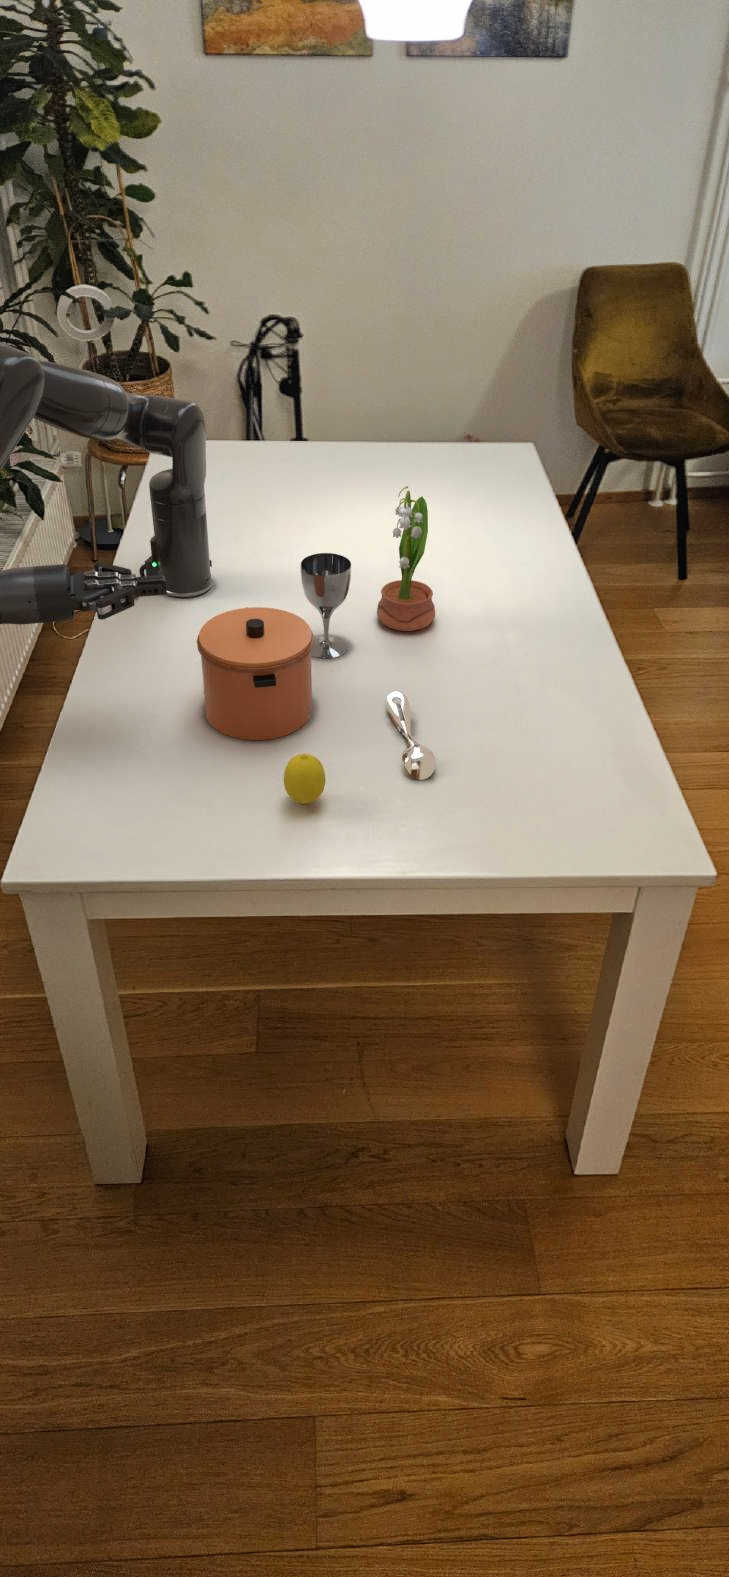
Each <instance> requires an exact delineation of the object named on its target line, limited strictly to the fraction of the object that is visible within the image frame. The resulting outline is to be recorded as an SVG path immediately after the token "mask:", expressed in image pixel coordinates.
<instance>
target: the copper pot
mask: <svg viewBox="0 0 729 1577" xmlns="http://www.w3.org/2000/svg"><path fill="white" fill-rule="evenodd" d="M314 638H315V636H314V633H313V630H312V629H311V627H310V625H309V624H308V622H307V621H305V619H304V618H302V617H300V616H299V615H297V614H294V613H292V612H291V611H287V610H283V609H279V608H272V607H263V606H261V607H260V606H259V607H258V606H257V607H256V606H255V607H253V606H252V607H243V608H235V609H232V610H228V611H225V612H222V613H220V614H217V615H215V616H213V617H212V618H211V619H208V620H207V621H206V622H204V624H203V625H202V627H201V628H200V630H199V632H198V635H197V638H196V645H197V646H196V647H197V650H198V653H199V654H200V659H201V672H202V673H201V674H202V683H203V684H202V685H203V697H204V708H205V709H204V711H205V717H206V720H207V721H208V723H209V725H211V727H212V728H214V729H215V730H216V731H218V732H220V734H223V735H225V736H228V737H231V738H236V739H239V740H247V741H267V740H274V739H277V738H282V737H286V736H288V735H290V734H292V733H295V732H296V731H298V730H300V729H301V728H303V727H304V726H305V725H306V724H307V723H308V722H309V720H310V718H311V716H312V712H313V688H312V687H313V686H312V685H313V684H312V682H313V680H312V678H313V676H312V656H311V651H312V649H313V646H314Z"/></svg>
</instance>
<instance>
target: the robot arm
mask: <svg viewBox="0 0 729 1577" xmlns="http://www.w3.org/2000/svg"><path fill="white" fill-rule="evenodd" d="M33 419H34V420H37V421H39V422H41V423H43V424H45V425H48V426H50V427H52V428H55V429H56V430H60V431H62V432H64V433H68V434H70V435H74V436H77V437H82V438H86V439H89V440H96V441H113V440H119V441H122V442H124V443H127V444H129V445H131V446H133V447H136V448H138V449H140V450H142V451H144V452H146V453H148V454H149V453H150V454H152V455H157V456H163V457H168V458H171V461H172V463H171V464H172V468H169V469H165V470H162V471H159V472H157V473H155V474H154V475H152V476H151V478H150V479H149V483H148V488H149V489H148V490H149V497H150V498H149V499H150V508H151V516H152V517H151V518H152V526H153V534H154V535H152V537H150V539H149V542H150V543H149V544H150V554H151V555H150V556H149V557H148V558H147V559H146V560H145V561H144V564H141V566H140V567H139V570H138V571H139V572H138V573H139V576H137V575H136V574H134V573H132V569H130V568H127V567H123V566H119V565H115V564H110V563H107V562H103V561H96V562H93V569H92V570H88V571H87V570H83V571H79V572H76V573H75V572H74V573H70V569H69V568H70V567H69V566H68V565H67V564H64V563H60V564H48V565H36V566H35V565H34V566H22V567H20V566H19V567H12V568H7V569H2V570H0V625H34V624H45V623H46V624H47V623H58V622H70V621H74V619H75V617H76V611H79V612H91V611H92V612H95V613H96V615H97V619H98V620H106V619H109V618H110V617H112V616H115V615H117V614H119V613H122V612H123V611H126V610H128V609H130V608H132V607H135V605H136V601H137V600H139V599H140V598H143V597H155V596H165V595H166V596H170V597H174V598H192V597H197V596H200V595H204V594H205V593H207V592H208V591H209V590H211V588H212V586H213V582H212V573H211V568H212V567H213V562H212V560H211V559H210V546H209V532H208V519H207V504H206V492H205V486H206V485H205V484H206V478H207V439H206V438H207V432H206V431H207V428H206V420H205V416H204V413H203V411H202V409H201V407H200V406H199V405H198V404H197V403H196V402H193V401H190V400H184V399H179V398H174V397H169V396H163V395H156V394H154V395H153V394H141V393H133V392H127V391H126V389H124V387H123V386H122V385H121V384H120V383H119V382H117V381H116V380H114V379H112V378H111V377H109V376H106V375H103V374H100V373H97V372H94V371H91V370H88V369H83V368H79V367H75V366H70V365H66V364H62V363H59V362H58V363H57V362H52V361H46V360H41V359H38V358H36V357H35V356H34V355H32V354H30V353H28V352H26V351H23V350H21V349H19V348H17V347H14V346H12V345H9V344H7V343H6V342H5V343H4V342H2V341H0V472H1V471H2V469H3V468H4V467H5V465H6V463H7V461H8V460H9V459H10V457H11V456H12V453H13V452H14V450H15V449H16V447H17V445H18V444H19V443H20V441H21V439H22V437H23V436H24V434H25V432H26V431H27V429H28V428H29V426H30V424H31V423H32V421H33Z"/></svg>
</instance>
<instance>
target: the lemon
mask: <svg viewBox="0 0 729 1577" xmlns="http://www.w3.org/2000/svg"><path fill="white" fill-rule="evenodd" d="M283 786H284V789H285V791H286V794H287V795H288V797H289V798H290V799H291V800H293V802H296V803H298V804H303V805H306V804H311V803H314V802H315V801H317V800H318V799H319V798H320V797H321V796H322V794H323V793H324V790H325V787H326V773H325V769H324V766H323V764H322V762H321V760H320V759H319V758H318V757H316V756H315V755H314V754H310V753H299V754H296V755H294V756H292V757H291V758H290V760H289V761H287V764H286V766H285V769H284V773H283Z"/></svg>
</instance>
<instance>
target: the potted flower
mask: <svg viewBox="0 0 729 1577" xmlns="http://www.w3.org/2000/svg"><path fill="white" fill-rule="evenodd" d="M408 488H409V485H407V486H404V487H403V488H402V489H401V490H400V491H399V494H398V497H400V495H401V494H402V492H403V491H404V490H406V489H408ZM412 503H414V504H413V507H412ZM402 504H403V506H401V505H402ZM394 512H395V514H394V515H395V516H398V517H399V518H398V520H397V523H396V527H395V528H394V529H393V530H392V534H393V535H392V538H396V539H399V537H400V542H399V546H398V556H399V561H398V563H399V566H398V568H400V572H401V579H398V580H394V581H390V582H388V583H386V584H385V585H383V587H382V588H381V590H380V595H381V598H380V599H379V601H378V603H377V608H376V616H377V618H378V619H379V620H380V622H381V624H383V625H384V626H386V627H388V628H390V629H393V630H395V631H401V632H412V631H419V630H422V629H424V628H426V627H428V626H429V625H430V624H431V623H432V621H433V620H435V617H436V608H435V607H436V606H435V604H434V602H433V599H432V598H433V595H434V592H433V589H432V588H431V587H430V586H429V585H428V584H426V583H424V582H421V581H417V580H412V578H413V576H414V573H415V570H416V568H417V567H418V565H419V563H420V561H421V559H422V558H423V556H424V554H425V550H426V544H427V540H428V539H427V538H428V532H429V511H428V504H427V501H426V499H425V498H424V496H423V495H421V496H420V497H418V498H417V499H412V498H411V491H410V490H407V491H406V493H405V496H404V497H403V498H401V499H400V500H399V504H398V506H396V508H395V509H394ZM401 529H403V530H401ZM401 533H402V534H401Z"/></svg>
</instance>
